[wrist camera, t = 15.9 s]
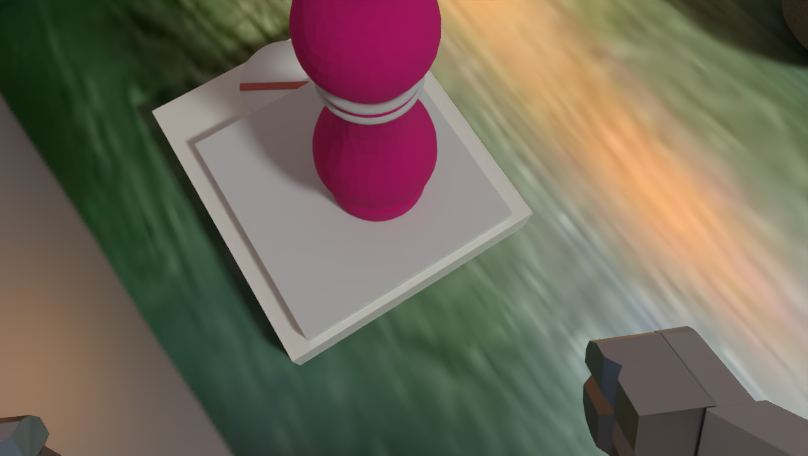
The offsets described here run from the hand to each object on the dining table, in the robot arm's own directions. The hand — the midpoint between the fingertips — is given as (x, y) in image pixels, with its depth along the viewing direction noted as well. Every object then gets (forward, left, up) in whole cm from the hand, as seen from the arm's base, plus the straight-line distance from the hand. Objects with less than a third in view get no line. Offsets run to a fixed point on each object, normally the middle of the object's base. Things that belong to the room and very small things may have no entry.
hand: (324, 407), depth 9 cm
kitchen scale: (+15, -6, -31) cm, 35 cm away
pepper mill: (+13, -7, -27) cm, 31 cm away
